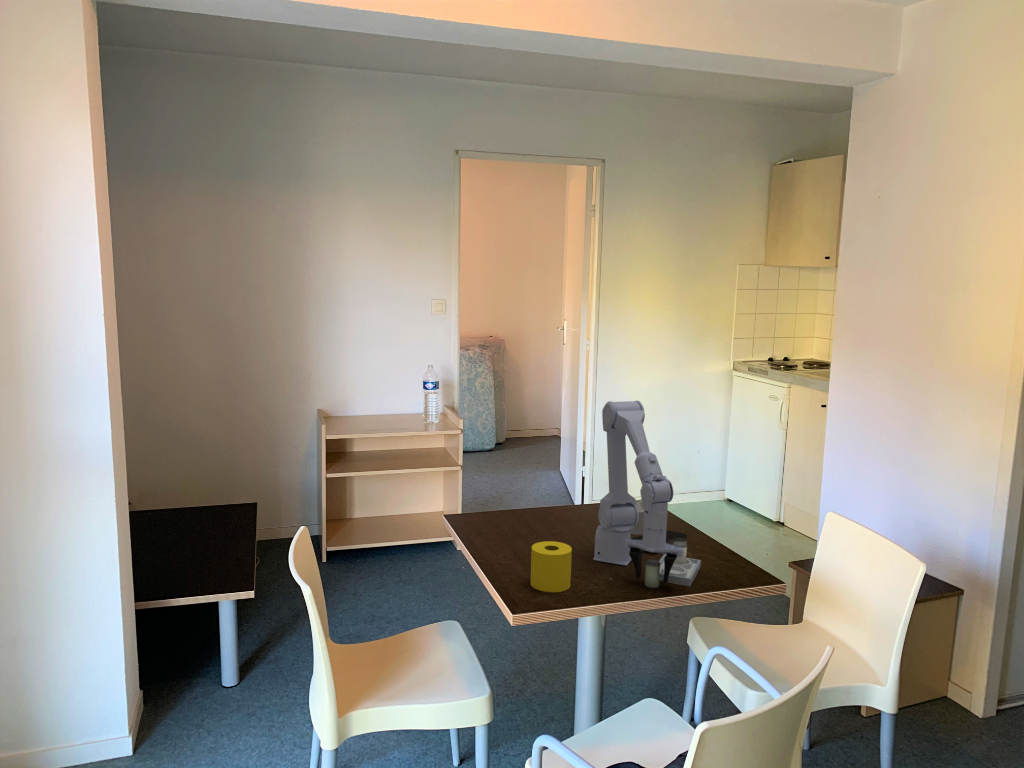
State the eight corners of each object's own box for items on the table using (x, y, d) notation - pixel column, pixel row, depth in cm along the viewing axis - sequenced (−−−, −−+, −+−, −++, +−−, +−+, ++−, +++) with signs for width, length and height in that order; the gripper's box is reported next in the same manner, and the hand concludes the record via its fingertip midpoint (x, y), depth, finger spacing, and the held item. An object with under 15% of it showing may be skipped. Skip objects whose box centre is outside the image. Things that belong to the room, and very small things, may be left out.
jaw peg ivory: (671, 566, 200) (672, 544, 199) (672, 562, 203) (674, 540, 203) (685, 568, 199) (686, 546, 198) (686, 564, 202) (687, 542, 202)
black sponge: (649, 556, 211) (650, 544, 210) (629, 548, 218) (629, 535, 217) (689, 547, 220) (690, 535, 220) (668, 539, 227) (669, 527, 226)
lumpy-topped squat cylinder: (612, 527, 236) (613, 500, 235) (639, 520, 244) (640, 494, 243) (637, 536, 228) (639, 508, 227) (665, 528, 236) (666, 501, 235)
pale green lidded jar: (643, 586, 189) (644, 563, 188) (646, 581, 192) (647, 558, 191) (657, 588, 187) (658, 565, 187) (660, 583, 191) (661, 561, 190)
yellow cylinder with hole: (578, 587, 187) (579, 550, 186) (545, 595, 181) (547, 557, 180) (554, 574, 195) (556, 539, 194) (522, 581, 190) (523, 545, 189)
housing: (651, 579, 193) (651, 571, 193) (663, 561, 207) (664, 553, 207) (690, 586, 189) (690, 578, 189) (700, 567, 203) (701, 559, 203)
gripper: (622, 527, 187) (619, 579, 189) (680, 536, 181) (677, 590, 183) (629, 519, 193) (627, 570, 195) (686, 528, 188) (683, 580, 189)
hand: (652, 579), depth 190 cm, fingers open, 6 cm apart
